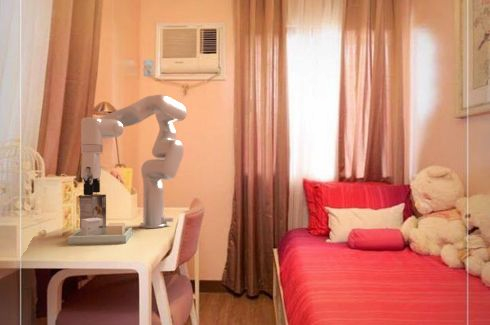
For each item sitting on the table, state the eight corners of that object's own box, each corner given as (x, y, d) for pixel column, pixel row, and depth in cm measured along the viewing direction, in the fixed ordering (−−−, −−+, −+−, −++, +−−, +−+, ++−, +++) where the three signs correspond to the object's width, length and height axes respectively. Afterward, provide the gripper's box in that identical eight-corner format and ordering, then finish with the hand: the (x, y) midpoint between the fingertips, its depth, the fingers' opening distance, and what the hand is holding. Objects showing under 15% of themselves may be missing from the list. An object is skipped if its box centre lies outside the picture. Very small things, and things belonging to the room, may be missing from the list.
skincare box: (86, 240, 122) (86, 220, 122) (80, 237, 126) (80, 218, 126) (102, 237, 126) (103, 218, 126) (96, 235, 130) (96, 216, 130)
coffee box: (93, 229, 144) (93, 193, 144) (106, 230, 143) (106, 194, 142) (79, 234, 135) (79, 196, 135) (92, 235, 134) (93, 196, 133)
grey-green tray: (131, 234, 135) (131, 227, 135) (125, 243, 121) (125, 235, 121) (80, 236, 131) (80, 229, 131) (68, 245, 117) (68, 237, 117)
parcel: (125, 235, 131) (125, 222, 131) (122, 238, 125) (122, 225, 125) (109, 235, 129) (109, 223, 129) (105, 239, 124) (105, 226, 124)
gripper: (88, 150, 133) (88, 191, 133) (74, 148, 116) (74, 196, 116) (107, 150, 135) (107, 191, 135) (96, 149, 118) (96, 196, 118)
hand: (92, 193), depth 126 cm, fingers open, 9 cm apart
